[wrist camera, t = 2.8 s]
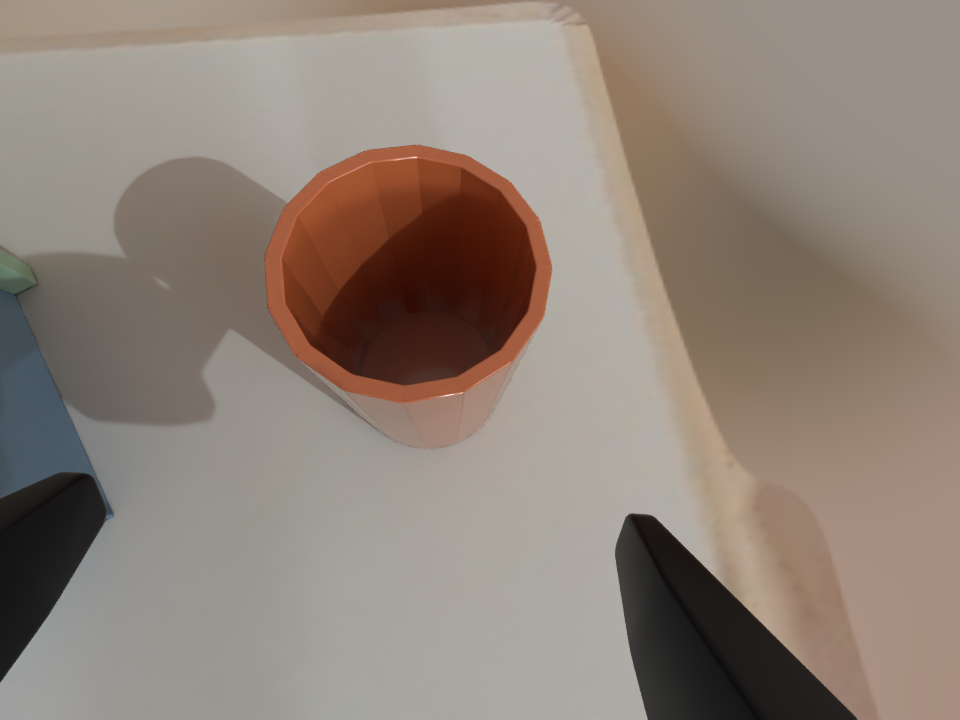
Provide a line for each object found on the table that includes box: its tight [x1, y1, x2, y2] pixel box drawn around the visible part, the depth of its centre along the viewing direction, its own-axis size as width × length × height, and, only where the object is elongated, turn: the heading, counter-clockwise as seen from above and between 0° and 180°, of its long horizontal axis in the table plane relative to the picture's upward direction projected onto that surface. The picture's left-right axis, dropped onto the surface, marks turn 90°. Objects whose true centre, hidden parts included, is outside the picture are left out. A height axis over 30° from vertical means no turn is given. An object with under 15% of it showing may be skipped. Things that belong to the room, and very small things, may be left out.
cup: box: [264, 145, 552, 449], centre depth 16 cm, size 7×7×10 cm
